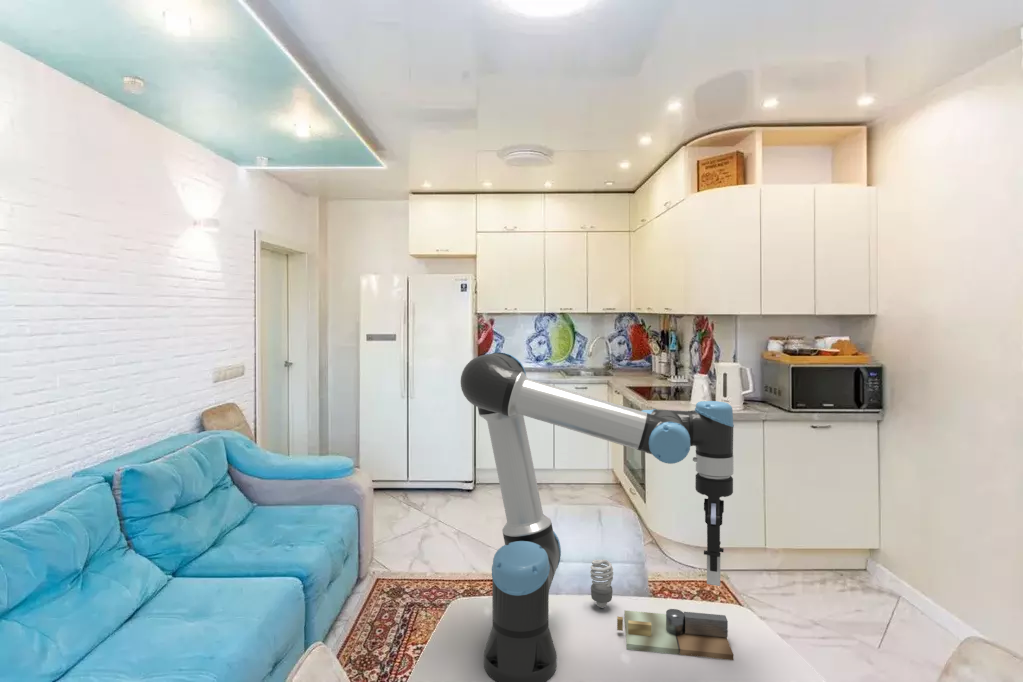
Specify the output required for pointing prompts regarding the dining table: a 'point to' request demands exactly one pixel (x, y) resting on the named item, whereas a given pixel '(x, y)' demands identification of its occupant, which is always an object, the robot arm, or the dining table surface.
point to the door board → (669, 638)
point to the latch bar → (696, 623)
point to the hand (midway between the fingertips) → (713, 583)
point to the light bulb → (601, 590)
